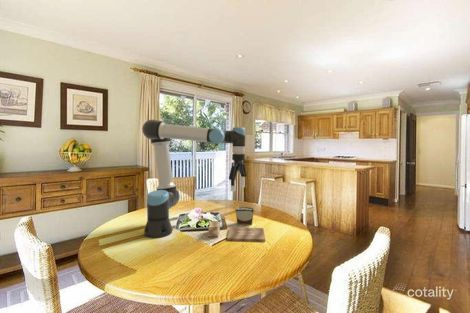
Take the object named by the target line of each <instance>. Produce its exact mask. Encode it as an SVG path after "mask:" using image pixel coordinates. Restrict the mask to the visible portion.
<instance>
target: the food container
mask: <svg viewBox="0 0 470 313" xmlns="http://www.w3.org/2000/svg"><path fill="white" fill-rule="evenodd" d="M234 212H235V215H236V216H235V217H236V225H250V226H252V225H253V219H254V213H255V209H254V208H253V207H251V206H244V205H243V206H238V207H236V208H235V209H234Z"/></svg>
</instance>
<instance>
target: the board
mask: <svg viewBox="0 0 470 313" xmlns="http://www.w3.org/2000/svg"><path fill="white" fill-rule="evenodd" d="M226 241H234V242H261V243H262V242H266V235H265V230H264V228H263V227H234V226H233V227H229V228H228V233H227V240H226Z"/></svg>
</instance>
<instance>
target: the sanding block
mask: <svg viewBox="0 0 470 313" xmlns="http://www.w3.org/2000/svg"><path fill="white" fill-rule="evenodd" d="M220 222H221V221H215V220H213V221H210V223H209V225H208V238H211V239H212V238H214V239H216V238H217V239H218V238H219V235H220V225H221V224H220Z"/></svg>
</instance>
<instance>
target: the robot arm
mask: <svg viewBox="0 0 470 313" xmlns="http://www.w3.org/2000/svg"><path fill="white" fill-rule="evenodd" d="M141 131H142V134H143V136H144V137H145V138H147V139H149V140H150V144H151V146H153V147H154V156H155V164H156V172H157V180H158V185H157V187H156V190H152V191H150V192H149V193H148V194H147V196H146V211H147V212H146V216H147V217H146V218H147V220H146V224H145V228H144V234H143V235H144V236H145V237H146V238H153V239H156V238H164V237H167V236H169V235H171V234H172V233H173V226H172V224H171V221H170V220H171V219H170V209H171V208H173V207H175V206H176V205H177V204H178V203H179V201H180V198H181V197H180V196H181V194H180V192H179V190H178V188H177V185H176V184H175V183H174V179H173V171H172V163H171V156H170V155H171V154H170V153H171V152H170V148H169V147H170V146H169V145H170V144H171V142H172V140H184V141H191V142H201V143H211V144H216V145H217V144H218V145H219V144H231V146H232V148H231V149H232V150H231V151H232V152H231V153H232V154H231V159H232V161H234V162H231V167H230V172H229V176H228V180H229V181H230V192H236V187H237V186H236V183H237V182H236V177H237V174H238V172H239V173H240V179H239V180H240V181H239V182H240V183H239V184H240V185H239V186H240V188H245V187H246V185H245V184H246V183H245V182H246V177H247V169H246V162H245V160H246V155H245V152H246V128H245V127H243V126H242V127H241V126H238V127H237V126H236V127H235V126H234V127H232V130H222V129H221V128H208V127H207V128H206V127H197V126H187V125H186V126H185V125H179V124H177V125H175V124H169V123H168V122H166V121H164V120H158V119H148V120H147V121H145V122H144V123H143V125H142V128H141ZM171 139H172V140H171Z"/></svg>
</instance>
